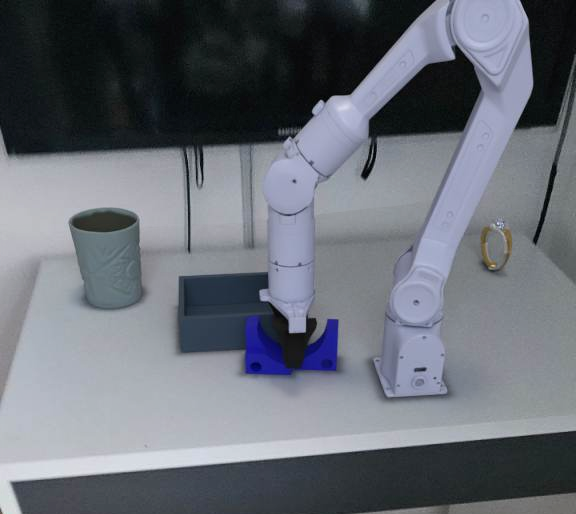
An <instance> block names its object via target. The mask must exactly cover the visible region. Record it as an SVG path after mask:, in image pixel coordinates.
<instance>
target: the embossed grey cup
mask: <svg viewBox="0 0 576 514" xmlns="http://www.w3.org/2000/svg"><path fill="white" fill-rule="evenodd" d="M68 228H69V231H70V235H71V238H72V242H73V247H74V251H75V255H76V259H77V265H78V268H79V273H80V276H81V279H82V281H83V288H84V289H83V290H84V293H85V297H86V300H87V301H88V303H89V304H90V305H92V306H94V307H96V308H100V309H111V310H112V309H120V308H126V307H129V306H131V305H133V304H135V303H137V302H138V301H140V299H141V297H142V296H143V282H142V260H141V259H142V254H141V247H140V241H141V237H140V235H141V230H140V218H139V215H138V214H137V213H136V212H134V211H132V210H129V209H125V208H120V207H96V208H90V209H85V210H82V211H80V212H77V213H75V214H73V215H72V216H71V217H69V220H68Z"/></svg>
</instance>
